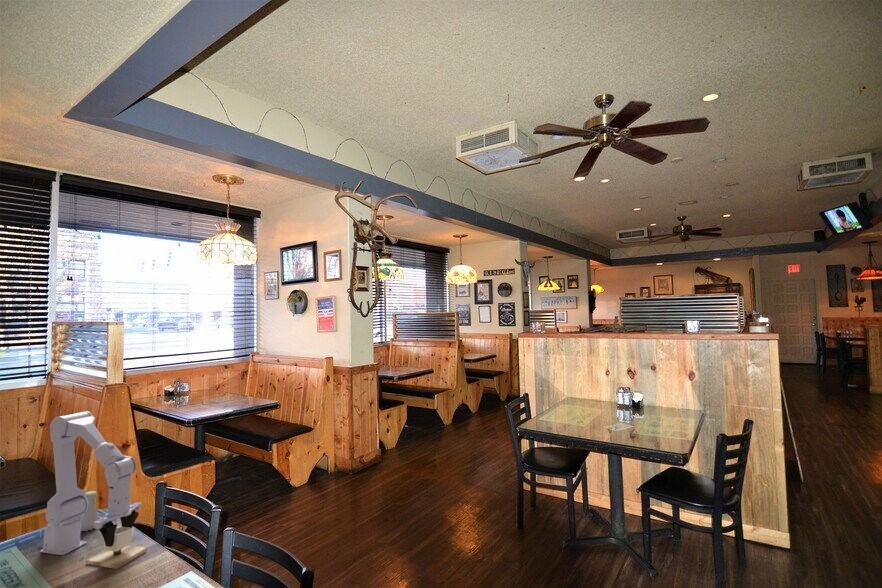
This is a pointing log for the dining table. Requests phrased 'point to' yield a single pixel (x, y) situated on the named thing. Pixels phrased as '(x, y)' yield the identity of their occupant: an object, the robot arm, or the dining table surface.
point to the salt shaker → (89, 512)
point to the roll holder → (116, 557)
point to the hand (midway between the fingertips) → (117, 541)
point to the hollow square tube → (120, 539)
